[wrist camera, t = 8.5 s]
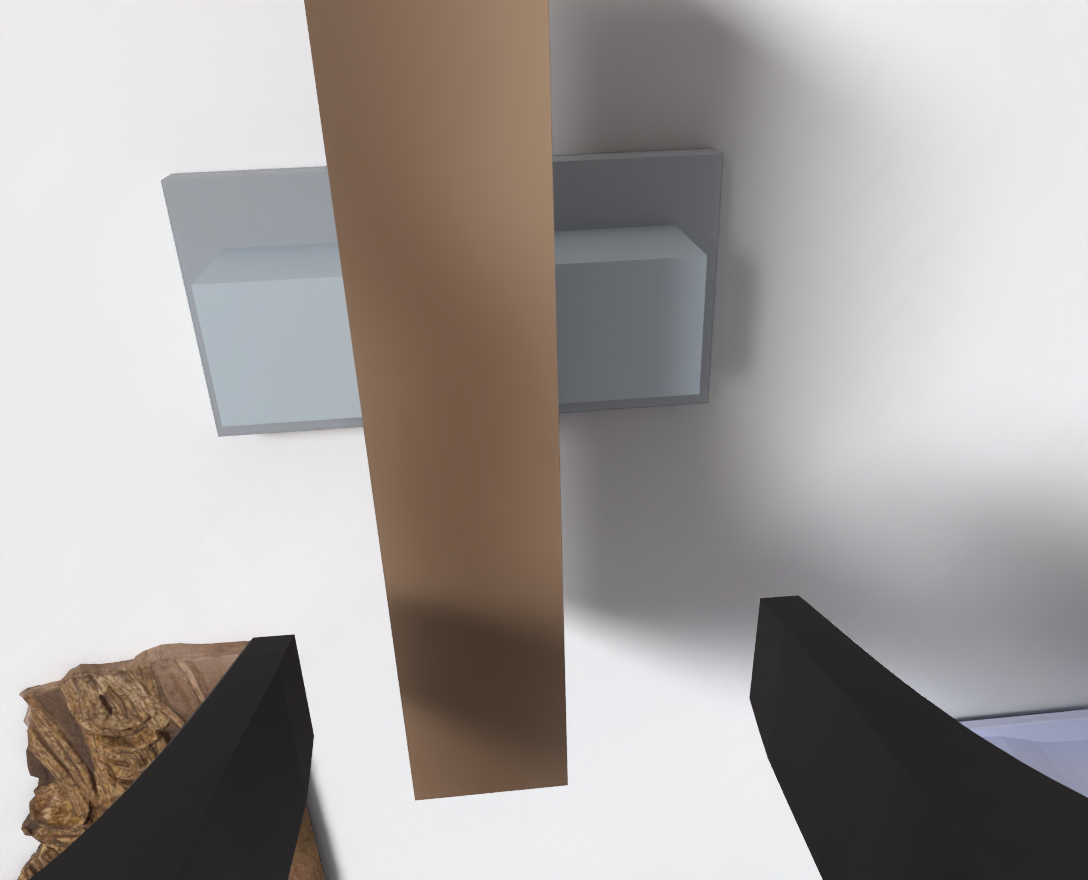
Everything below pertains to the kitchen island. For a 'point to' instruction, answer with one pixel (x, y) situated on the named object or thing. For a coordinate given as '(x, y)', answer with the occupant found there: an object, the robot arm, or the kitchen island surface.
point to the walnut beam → (455, 366)
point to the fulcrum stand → (580, 282)
